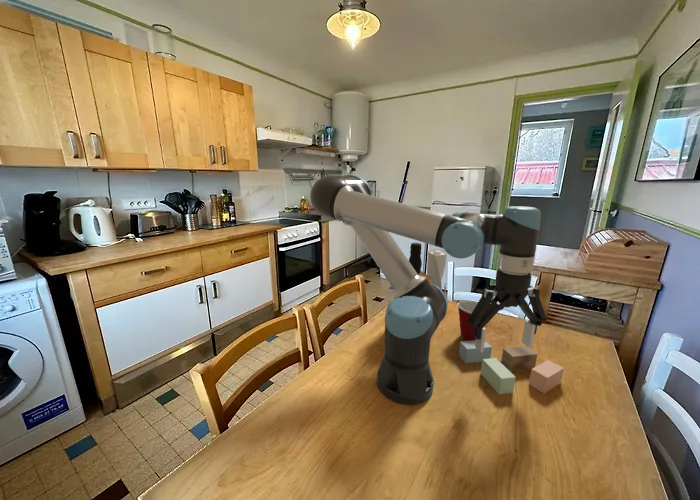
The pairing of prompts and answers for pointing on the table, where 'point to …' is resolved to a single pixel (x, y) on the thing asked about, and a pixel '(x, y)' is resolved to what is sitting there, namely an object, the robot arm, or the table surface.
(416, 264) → the whiskey bottle
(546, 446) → the table surface
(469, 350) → the slate block
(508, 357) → the walnut block
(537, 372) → the terracotta block
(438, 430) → the table surface
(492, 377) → the sage block
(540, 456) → the table surface
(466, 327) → the plastic cup
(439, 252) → the skyscraper
